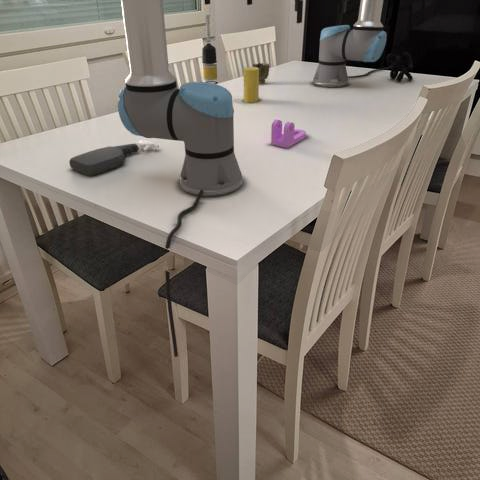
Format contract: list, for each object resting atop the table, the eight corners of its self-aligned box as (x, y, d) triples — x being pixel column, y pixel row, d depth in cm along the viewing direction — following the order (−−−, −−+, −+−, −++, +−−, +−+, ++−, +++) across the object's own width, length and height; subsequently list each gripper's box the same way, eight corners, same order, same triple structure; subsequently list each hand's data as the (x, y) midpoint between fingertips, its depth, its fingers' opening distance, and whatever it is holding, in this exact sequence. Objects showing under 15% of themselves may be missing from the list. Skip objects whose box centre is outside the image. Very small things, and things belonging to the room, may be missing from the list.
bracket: (287, 148, 130) (288, 124, 126) (271, 144, 133) (271, 121, 129) (309, 135, 139) (310, 113, 135) (293, 132, 142) (294, 110, 138)
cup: (250, 84, 198) (249, 65, 194) (257, 80, 204) (257, 62, 200) (265, 85, 195) (265, 66, 191) (272, 82, 201) (272, 63, 197)
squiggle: (400, 92, 202) (376, 71, 205) (417, 76, 202) (392, 56, 205) (405, 81, 191) (380, 59, 194) (423, 64, 191) (397, 42, 194)
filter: (220, 99, 177) (217, 15, 161) (206, 100, 176) (202, 16, 160) (215, 96, 182) (212, 14, 166) (202, 97, 180) (197, 14, 164)
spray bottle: (67, 168, 120) (139, 144, 136) (91, 178, 114) (163, 151, 130) (65, 157, 118) (137, 134, 134) (89, 167, 112) (162, 142, 128)
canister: (259, 98, 178) (259, 67, 171) (257, 102, 173) (257, 70, 166) (244, 98, 178) (244, 67, 172) (243, 102, 174) (242, 70, 167)
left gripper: (273, -84, 122) (271, 3, 134) (190, -80, 130) (195, 3, 141) (265, -86, 116) (264, 5, 128) (179, -82, 124) (185, 4, 135)
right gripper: (280, -55, 135) (278, 23, 146) (361, -58, 124) (352, 27, 135) (290, -54, 140) (288, 20, 151) (369, -57, 129) (360, 24, 140)
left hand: (228, 4), depth 134 cm, fingers open, 13 cm apart
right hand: (318, 23), depth 143 cm, fingers open, 13 cm apart
